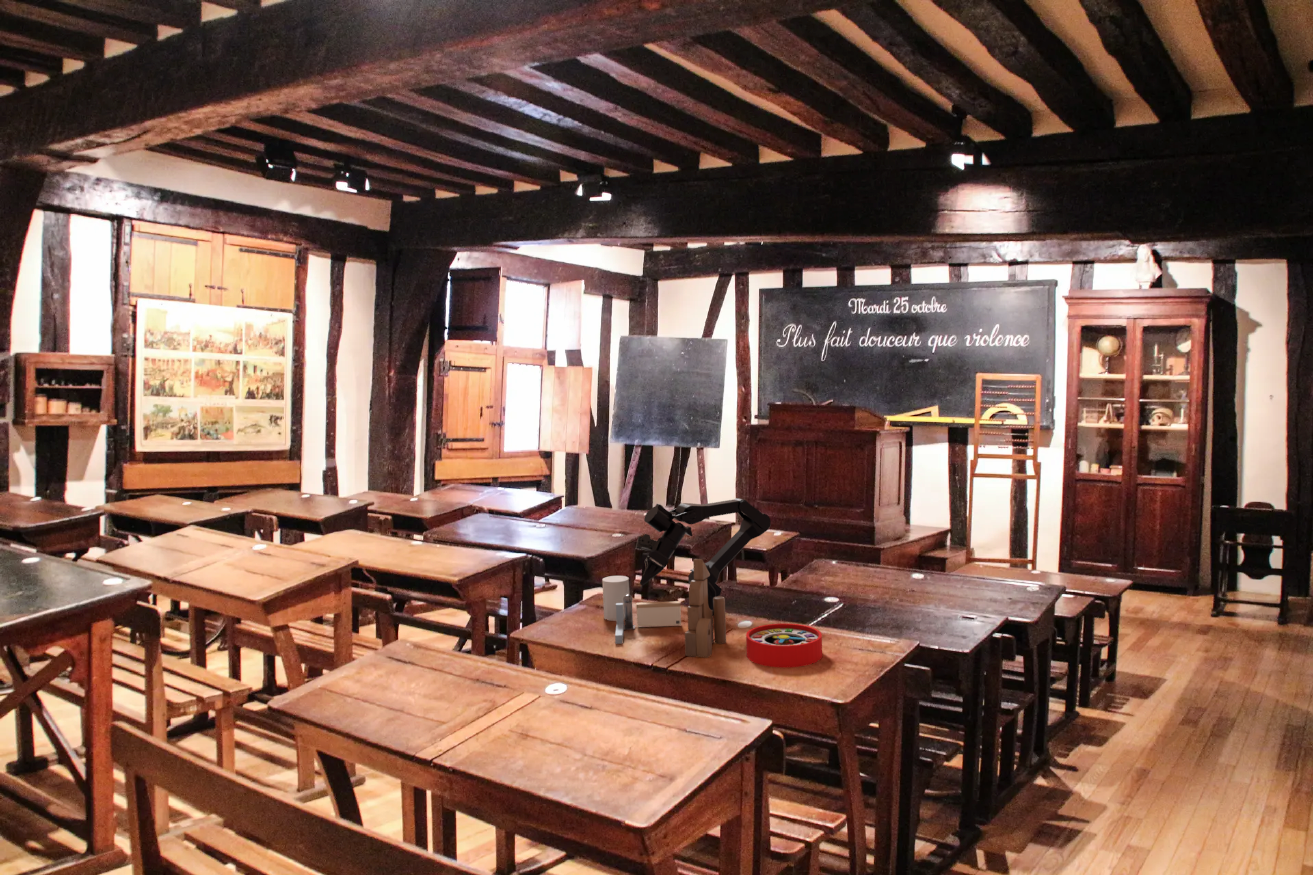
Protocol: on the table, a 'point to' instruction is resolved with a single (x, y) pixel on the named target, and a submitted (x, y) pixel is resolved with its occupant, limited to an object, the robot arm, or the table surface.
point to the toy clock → (784, 645)
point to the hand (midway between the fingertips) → (641, 583)
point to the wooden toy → (703, 616)
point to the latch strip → (619, 624)
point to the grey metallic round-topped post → (628, 612)
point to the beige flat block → (658, 614)
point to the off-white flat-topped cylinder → (614, 594)
